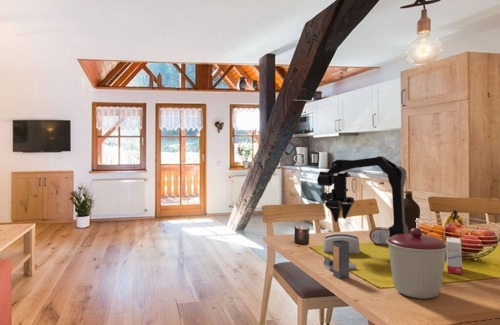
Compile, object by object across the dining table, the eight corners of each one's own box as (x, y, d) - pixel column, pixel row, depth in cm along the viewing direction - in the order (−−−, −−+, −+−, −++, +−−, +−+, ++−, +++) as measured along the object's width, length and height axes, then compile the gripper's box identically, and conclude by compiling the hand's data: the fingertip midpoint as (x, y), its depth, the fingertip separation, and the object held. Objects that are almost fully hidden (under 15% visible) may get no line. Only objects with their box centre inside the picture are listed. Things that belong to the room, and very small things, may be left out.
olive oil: (407, 241, 175) (406, 192, 174) (393, 236, 185) (393, 190, 185) (424, 239, 177) (424, 192, 177) (410, 235, 188) (410, 190, 187)
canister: (377, 283, 119) (376, 223, 119) (426, 281, 120) (426, 221, 120) (404, 306, 101) (403, 235, 101) (462, 303, 102) (462, 233, 102)
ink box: (462, 275, 126) (462, 243, 126) (446, 273, 128) (446, 241, 128) (461, 268, 133) (461, 238, 133) (446, 266, 136) (446, 236, 136)
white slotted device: (358, 250, 160) (359, 231, 157) (360, 256, 156) (361, 237, 153) (322, 249, 163) (322, 231, 160) (323, 255, 159) (323, 236, 155)
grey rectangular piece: (349, 263, 141) (349, 255, 140) (356, 268, 134) (355, 260, 134) (323, 265, 139) (323, 256, 139) (329, 270, 133) (329, 261, 133)
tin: (401, 244, 169) (401, 227, 169) (402, 246, 166) (402, 229, 166) (369, 243, 173) (369, 226, 173) (369, 244, 170) (369, 227, 170)
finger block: (341, 274, 129) (341, 239, 129) (349, 277, 125) (348, 242, 125) (332, 275, 127) (332, 241, 127) (339, 279, 123) (339, 243, 123)
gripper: (332, 184, 170) (333, 215, 170) (314, 187, 155) (314, 221, 156) (354, 185, 163) (354, 218, 163) (337, 188, 148) (337, 224, 149)
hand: (340, 220), depth 158 cm, fingers open, 9 cm apart
